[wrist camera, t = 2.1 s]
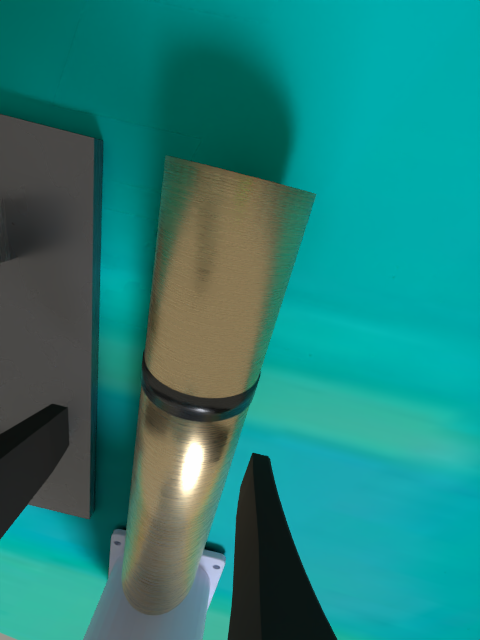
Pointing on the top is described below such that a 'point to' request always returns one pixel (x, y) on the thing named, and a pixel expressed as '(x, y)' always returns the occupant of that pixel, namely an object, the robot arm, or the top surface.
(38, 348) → the plate
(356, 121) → the top surface
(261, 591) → the robot arm
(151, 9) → the top surface
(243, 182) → the tube
